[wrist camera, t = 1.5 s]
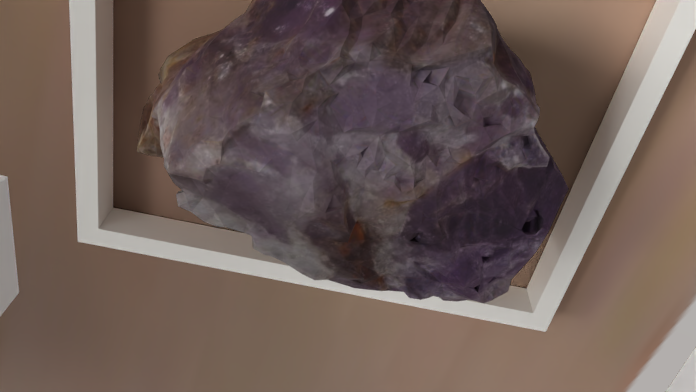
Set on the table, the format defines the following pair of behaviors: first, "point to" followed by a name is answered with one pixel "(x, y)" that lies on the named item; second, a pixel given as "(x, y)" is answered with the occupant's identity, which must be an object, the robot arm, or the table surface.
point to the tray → (239, 256)
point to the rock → (362, 143)
